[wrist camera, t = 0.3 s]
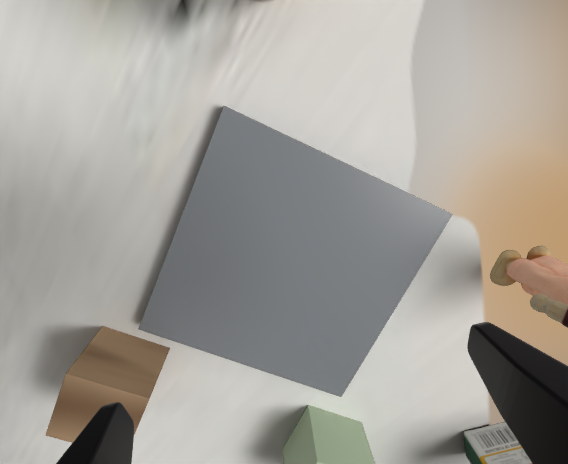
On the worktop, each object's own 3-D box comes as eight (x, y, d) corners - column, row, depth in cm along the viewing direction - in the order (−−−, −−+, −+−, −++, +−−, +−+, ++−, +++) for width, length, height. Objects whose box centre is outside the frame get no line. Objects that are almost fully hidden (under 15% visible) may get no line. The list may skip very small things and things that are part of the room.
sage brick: (334, 463, 30) (347, 526, 26) (282, 447, 30) (286, 510, 25) (361, 421, 29) (380, 479, 24) (308, 404, 28) (317, 461, 24)
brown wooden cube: (149, 397, 27) (125, 456, 22) (84, 378, 26) (45, 435, 22) (170, 347, 26) (149, 398, 21) (103, 325, 25) (65, 373, 20)
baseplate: (338, 387, 28) (341, 397, 27) (143, 321, 25) (138, 329, 24) (445, 210, 24) (452, 214, 23) (225, 106, 21) (223, 105, 20)
